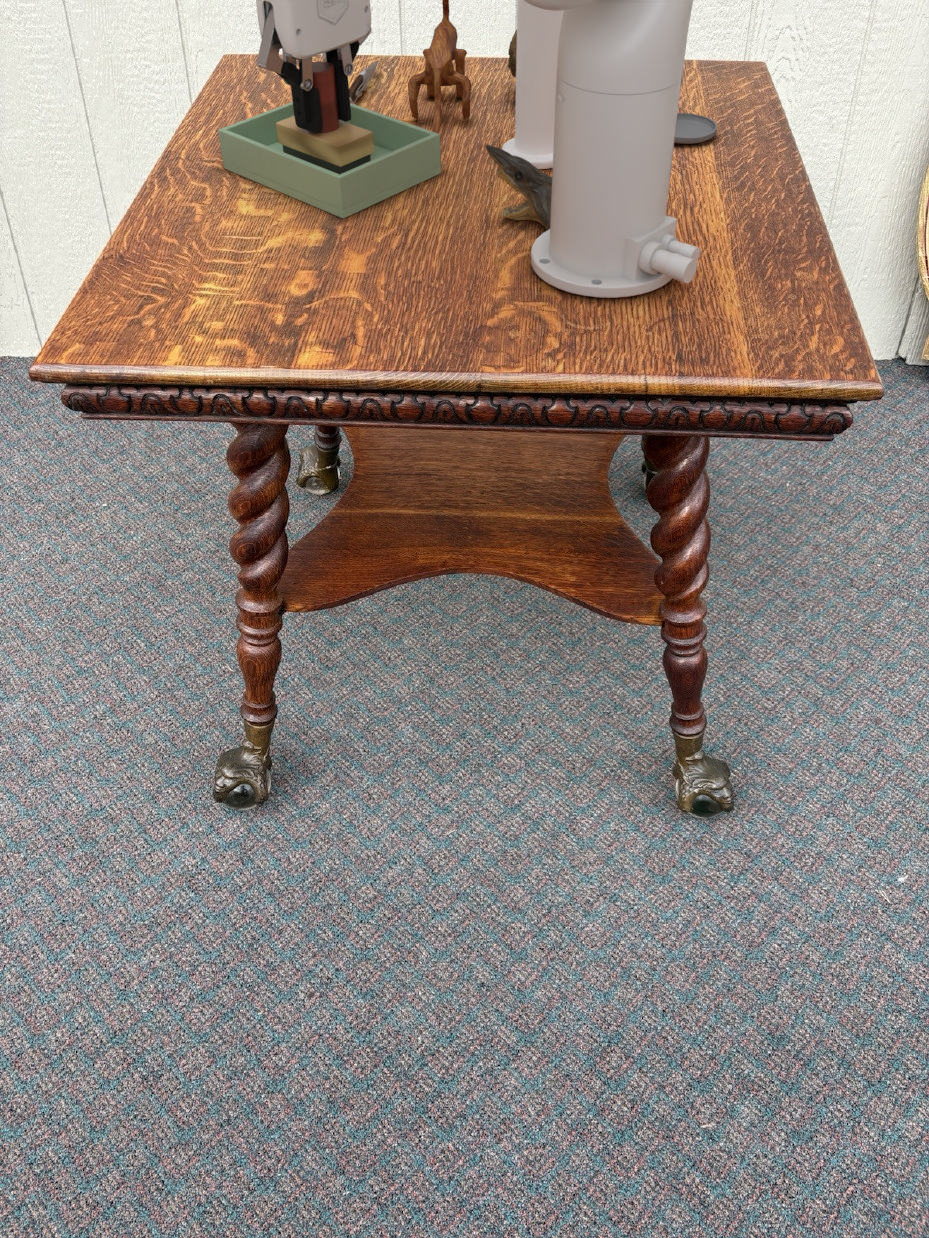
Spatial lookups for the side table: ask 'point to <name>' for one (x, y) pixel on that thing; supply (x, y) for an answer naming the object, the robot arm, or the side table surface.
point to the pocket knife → (361, 82)
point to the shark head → (524, 187)
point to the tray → (392, 169)
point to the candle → (535, 84)
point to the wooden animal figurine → (442, 70)
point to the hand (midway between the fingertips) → (323, 121)
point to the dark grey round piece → (693, 128)
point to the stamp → (327, 131)
